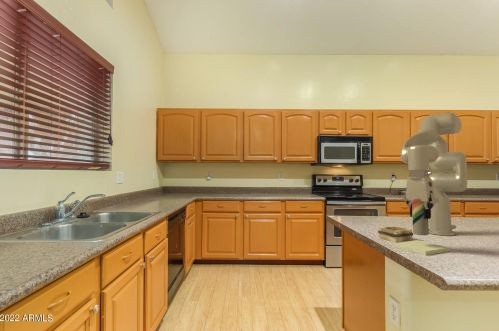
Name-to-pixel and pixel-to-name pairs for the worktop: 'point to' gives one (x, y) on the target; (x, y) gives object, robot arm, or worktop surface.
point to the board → (422, 247)
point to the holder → (395, 234)
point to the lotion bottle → (419, 218)
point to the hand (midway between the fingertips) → (420, 217)
